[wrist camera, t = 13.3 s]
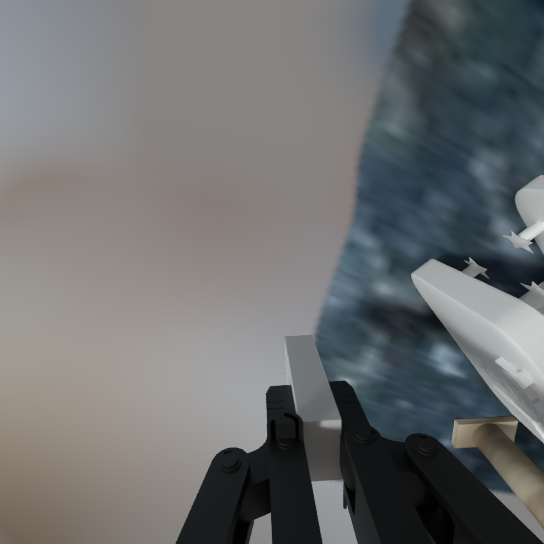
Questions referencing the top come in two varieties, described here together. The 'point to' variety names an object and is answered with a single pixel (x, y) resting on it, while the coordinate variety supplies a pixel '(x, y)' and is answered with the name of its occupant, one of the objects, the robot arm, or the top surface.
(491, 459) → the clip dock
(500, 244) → the top surface
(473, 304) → the cable organizer
